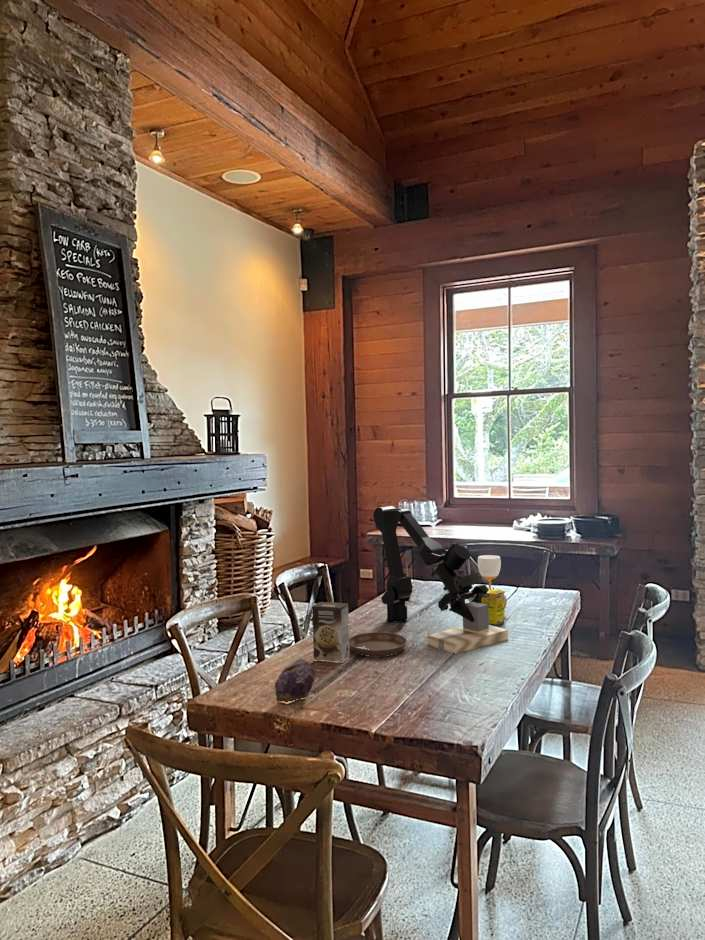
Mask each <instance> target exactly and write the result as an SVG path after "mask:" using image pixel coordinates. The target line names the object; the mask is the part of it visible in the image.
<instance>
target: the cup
mask: <svg viewBox="0 0 705 940" xmlns="http://www.w3.org/2000/svg"><path fill="white" fill-rule="evenodd" d="M501 566H502V561H501V556H499V555H496V554H495V555H494V554H493V555H492V554H485V555H483V554H482V555H478V557H477V568H478V572H479V573H480V575H481V577H482V578H483V579H485V580H487V581H488V589H492V581H493V580H494V579H496V578H497V577H498V576H499V573H500V572H501Z"/></svg>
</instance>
